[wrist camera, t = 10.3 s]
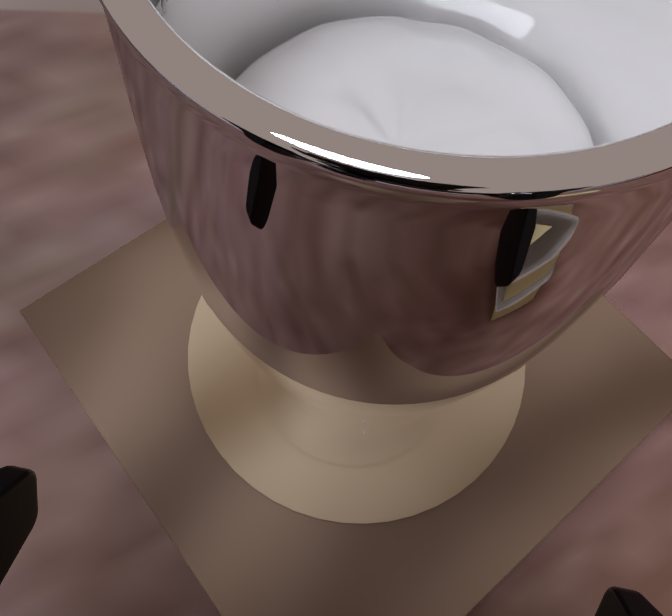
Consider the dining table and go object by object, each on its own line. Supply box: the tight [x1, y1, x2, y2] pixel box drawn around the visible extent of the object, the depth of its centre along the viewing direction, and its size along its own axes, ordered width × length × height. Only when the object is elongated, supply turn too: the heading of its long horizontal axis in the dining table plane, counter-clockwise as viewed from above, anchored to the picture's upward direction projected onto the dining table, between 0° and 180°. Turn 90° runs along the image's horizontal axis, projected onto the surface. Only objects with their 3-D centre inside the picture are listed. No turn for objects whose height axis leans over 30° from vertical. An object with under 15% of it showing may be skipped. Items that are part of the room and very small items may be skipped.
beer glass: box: [99, 0, 672, 466], centre depth 12 cm, size 7×7×15 cm
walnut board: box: [20, 219, 672, 616], centre depth 20 cm, size 16×16×2 cm
